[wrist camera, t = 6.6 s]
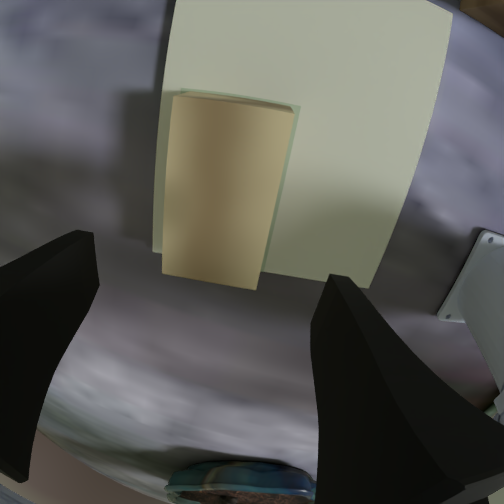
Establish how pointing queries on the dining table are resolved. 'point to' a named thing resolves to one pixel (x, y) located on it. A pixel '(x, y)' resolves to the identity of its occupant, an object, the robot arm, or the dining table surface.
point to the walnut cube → (486, 13)
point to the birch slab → (222, 186)
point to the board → (319, 114)
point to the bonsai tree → (241, 484)
